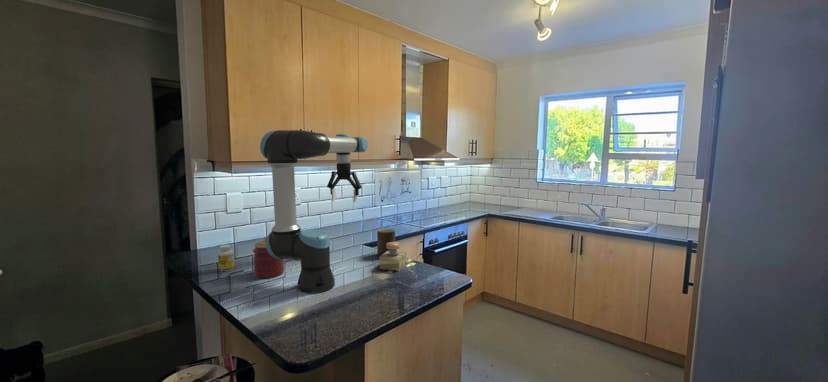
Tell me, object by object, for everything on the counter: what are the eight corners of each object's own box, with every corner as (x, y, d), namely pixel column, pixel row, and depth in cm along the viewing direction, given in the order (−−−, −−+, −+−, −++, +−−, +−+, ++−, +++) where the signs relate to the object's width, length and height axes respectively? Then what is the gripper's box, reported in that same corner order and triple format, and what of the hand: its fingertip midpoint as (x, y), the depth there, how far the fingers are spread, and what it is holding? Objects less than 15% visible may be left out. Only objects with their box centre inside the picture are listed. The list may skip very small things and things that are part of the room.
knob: (396, 261, 165) (396, 246, 164) (384, 260, 167) (384, 244, 166) (401, 257, 171) (401, 242, 170) (389, 256, 173) (389, 241, 172)
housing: (399, 271, 163) (399, 258, 163) (379, 268, 166) (379, 256, 166) (406, 264, 173) (406, 252, 172) (387, 262, 176) (387, 250, 175)
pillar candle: (391, 258, 181) (391, 230, 180) (374, 256, 184) (374, 229, 183) (398, 253, 190) (398, 226, 189) (381, 251, 194) (381, 225, 192)
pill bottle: (217, 269, 166) (215, 246, 164) (231, 266, 170) (229, 243, 169) (222, 273, 161) (220, 248, 160) (236, 269, 166) (235, 245, 164)
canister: (247, 276, 157) (245, 238, 155) (268, 267, 169) (266, 231, 167) (270, 280, 152) (268, 241, 150) (290, 270, 164) (288, 234, 162)
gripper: (367, 162, 190) (368, 201, 193) (327, 162, 198) (328, 198, 200) (361, 163, 183) (361, 203, 186) (319, 162, 190) (321, 200, 193)
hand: (344, 201), depth 193 cm, fingers open, 13 cm apart
